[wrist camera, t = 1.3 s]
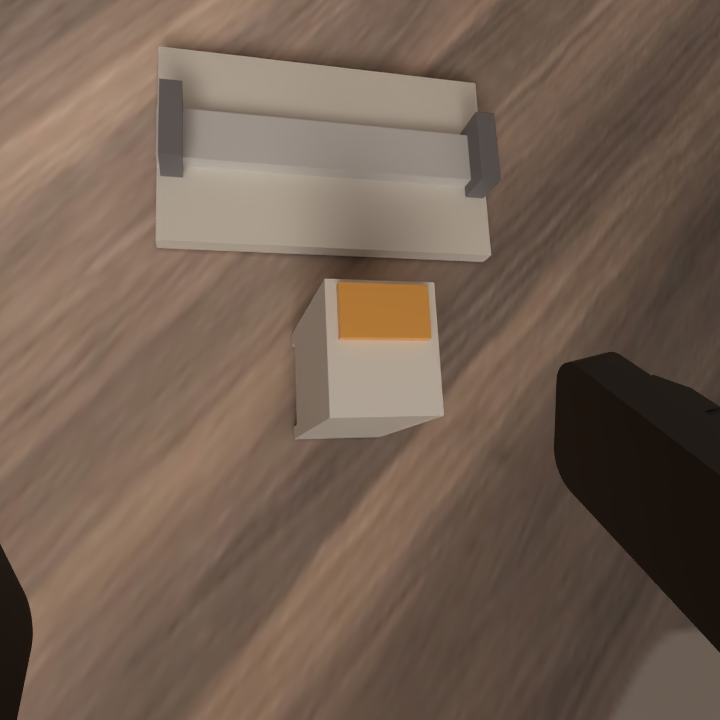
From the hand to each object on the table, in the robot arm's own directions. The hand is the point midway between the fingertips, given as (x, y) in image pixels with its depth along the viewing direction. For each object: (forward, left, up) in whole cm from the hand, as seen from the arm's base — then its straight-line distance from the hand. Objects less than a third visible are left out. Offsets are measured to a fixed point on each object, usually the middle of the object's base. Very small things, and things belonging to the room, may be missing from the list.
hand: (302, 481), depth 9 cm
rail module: (+6, +6, -27) cm, 28 cm away
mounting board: (+6, +20, -27) cm, 34 cm away
